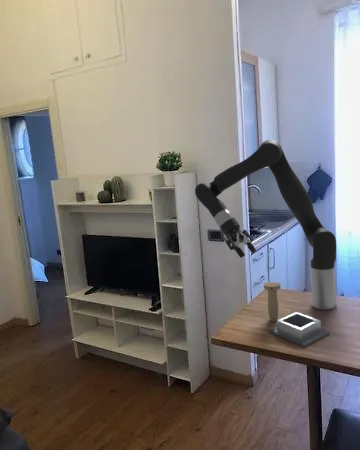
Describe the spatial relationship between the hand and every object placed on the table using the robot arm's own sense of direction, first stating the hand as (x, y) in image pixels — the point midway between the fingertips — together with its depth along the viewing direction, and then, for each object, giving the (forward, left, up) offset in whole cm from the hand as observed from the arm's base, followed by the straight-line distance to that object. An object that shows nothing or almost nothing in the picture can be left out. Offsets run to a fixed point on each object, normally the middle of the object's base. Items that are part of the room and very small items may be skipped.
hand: (248, 254), depth 157 cm
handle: (-2, +10, -26) cm, 28 cm away
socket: (0, +24, -26) cm, 35 cm away
